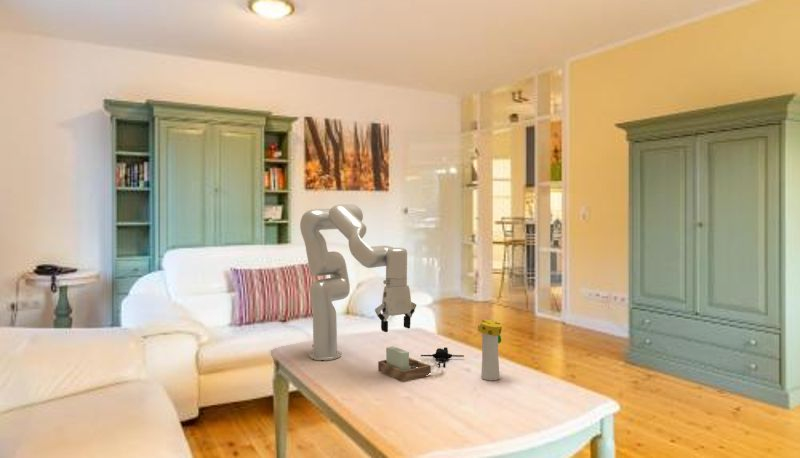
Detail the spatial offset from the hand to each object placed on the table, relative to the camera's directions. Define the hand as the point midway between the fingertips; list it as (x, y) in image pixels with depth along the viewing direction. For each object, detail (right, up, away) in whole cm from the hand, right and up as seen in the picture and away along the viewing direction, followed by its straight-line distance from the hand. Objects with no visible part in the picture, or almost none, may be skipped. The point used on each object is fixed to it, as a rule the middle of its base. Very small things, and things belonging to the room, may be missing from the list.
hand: (395, 329), depth 188 cm
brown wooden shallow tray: (+3, -16, +2) cm, 17 cm away
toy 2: (+33, -16, -5) cm, 37 cm away
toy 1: (+18, -16, +15) cm, 28 cm away
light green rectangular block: (+1, -15, 0) cm, 15 cm away
